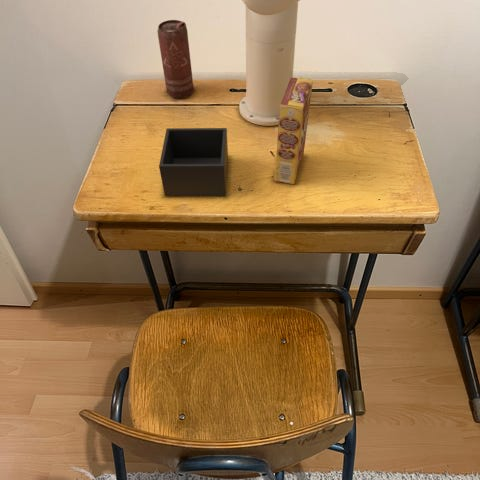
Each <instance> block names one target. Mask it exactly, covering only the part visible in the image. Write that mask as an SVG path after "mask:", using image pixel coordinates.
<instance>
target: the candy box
mask: <svg viewBox="0 0 480 480" xmlns="http://www.w3.org/2000/svg"><path fill="white" fill-rule="evenodd" d="M313 84H314V80H313V79H310V78H303V77H301V78H297V77H293V78H290V80H289V83H288V86H287V89H286V91H285V94H284V96H283V99H282V101H281V103H280V114H279V125H277V126H278V127H277V140H276V150H275V153H276V154H275V165H274V166H275V167H274V178H273V181H274V182H280V183H283V184H289V185H295V184H296V180H297V176H298V173H299V170H300V167H301V164H302V161H303V158H304V155H305V154H304V153H305V148H306V147H305V146H306V139H307V132H308V131H307V130H308V123H309V116H310V109H311V101H312V100H311V99H312V92H313V86H314V85H313Z"/></svg>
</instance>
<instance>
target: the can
mask: <svg viewBox="0 0 480 480" xmlns="http://www.w3.org/2000/svg"><path fill="white" fill-rule="evenodd" d="M157 27H158V28H157V32H156V33H157V38H158V44H159V50H160V56H161V64H162V71H163V77H164V83H165V88H166V93H167V95H168V96H169V97H170V98H172V99H175V100H184V99H187V98H189V97H190V96H192V95H193V92H194V90H195V89H194V80H193V71H192V62H191V61H192V60H191V53H190V51H191V50H190V44H189V43H190V42H189V33H188V28H187V24H186V22H185V21H181V20H177V19H169V20H165V21H163V22H160V23H159V24H158V25H157Z"/></svg>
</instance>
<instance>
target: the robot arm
mask: <svg viewBox="0 0 480 480" xmlns="http://www.w3.org/2000/svg"><path fill="white" fill-rule="evenodd" d="M300 1H301V0H242V2H243V4H244V5H245V88H246V89H245V90H246V91H245V93H246V94H245V96H243V97H242V99H241V100H240V102H239V109H238V110H239V114H240V116H241V117H242V118H243V119H245V121H247V122H249V123H252V124H254V125H258V126H266V127H272V126H279V114H280V103H281V101H282V99H283V96H284V94H285V91H286V89H287V86H288V83H289V80H290V78H294V64H295V53H296V36H297V27H298V26H297V24H298V11H299V10H298V9H299V2H300ZM296 78H302V77H301V76H297V77H296Z"/></svg>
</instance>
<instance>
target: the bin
mask: <svg viewBox="0 0 480 480" xmlns="http://www.w3.org/2000/svg"><path fill="white" fill-rule="evenodd" d="M228 167H229V147H228V127H175V128H174V127H173V128H171V127H169V128H166V129H165V133H164V138H163V145H162V150H161V154H160V159H159V164H158V168H159V174H160V178H161V183H162V188H163V193H164V197H226V196H227V184H228V183H227V182H228V171H229V168H228Z"/></svg>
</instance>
